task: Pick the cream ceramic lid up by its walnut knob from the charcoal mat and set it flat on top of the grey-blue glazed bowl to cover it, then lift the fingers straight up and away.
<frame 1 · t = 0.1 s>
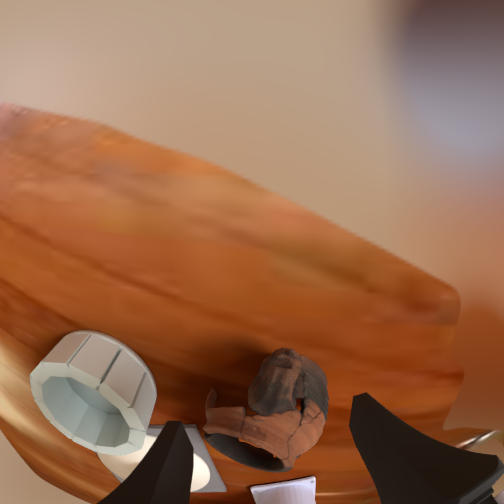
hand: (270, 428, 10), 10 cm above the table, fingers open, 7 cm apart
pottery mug: (267, 382, 22), on the table
lid: (152, 465, 23), resting on mat
mat: (152, 462, 24), on the table
bowl: (103, 378, 20), on the table
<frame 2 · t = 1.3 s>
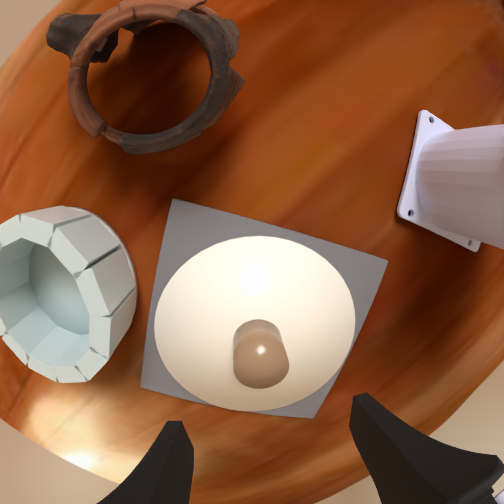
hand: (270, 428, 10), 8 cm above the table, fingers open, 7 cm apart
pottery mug: (153, 72, 14), on the table
lid: (256, 335, 18), resting on mat
mat: (255, 331, 18), on the table
bowl: (74, 279, 17), on the table
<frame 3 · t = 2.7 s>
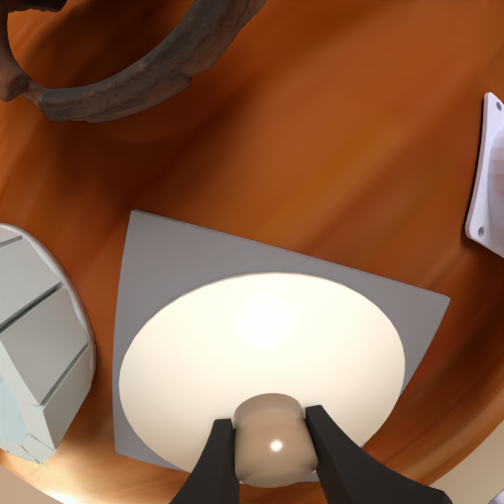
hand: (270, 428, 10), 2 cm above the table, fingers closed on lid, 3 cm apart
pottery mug: (123, 17, 8), on the table
lid: (266, 408, 11), resting on mat, touching gripper
mat: (265, 400, 12), on the table
bowl: (17, 321, 10), on the table
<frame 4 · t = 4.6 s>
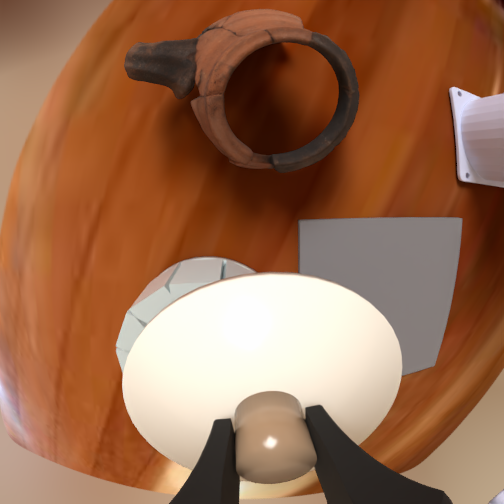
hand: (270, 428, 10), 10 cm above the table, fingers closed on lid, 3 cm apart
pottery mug: (239, 92, 16), on the table
lid: (267, 405, 12), point 8 cm above the table, touching gripper
mat: (385, 309, 20), on the table
bowl: (211, 326, 19), on the table
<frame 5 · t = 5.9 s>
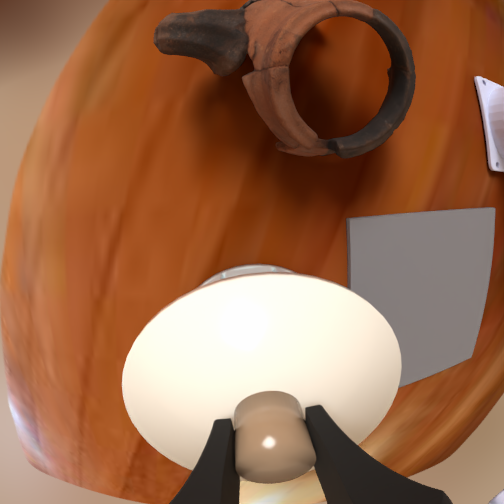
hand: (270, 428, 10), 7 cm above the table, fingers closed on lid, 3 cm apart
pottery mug: (276, 75, 14), on the table
lid: (266, 405, 12), point 6 cm above the table, touching gripper
mat: (429, 305, 18), on the table
bowl: (256, 340, 17), on the table
when the fingers open (7 cm above the table, at t = 6.8 s): lid stays where it is, resting on bowl.
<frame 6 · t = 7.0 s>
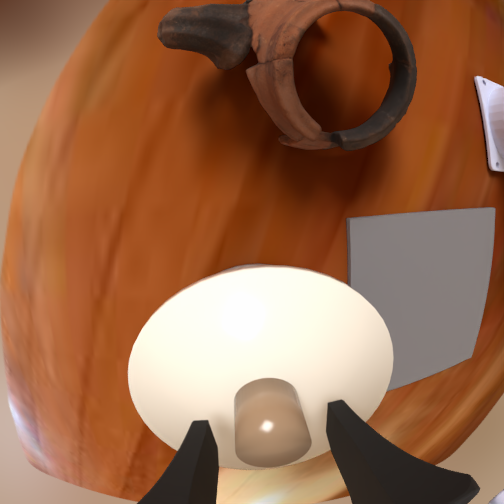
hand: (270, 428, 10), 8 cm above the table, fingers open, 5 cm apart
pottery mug: (279, 70, 14), on the table
lid: (264, 393, 13), point 5 cm above the table, touching bowl
mat: (429, 305, 18), on the table
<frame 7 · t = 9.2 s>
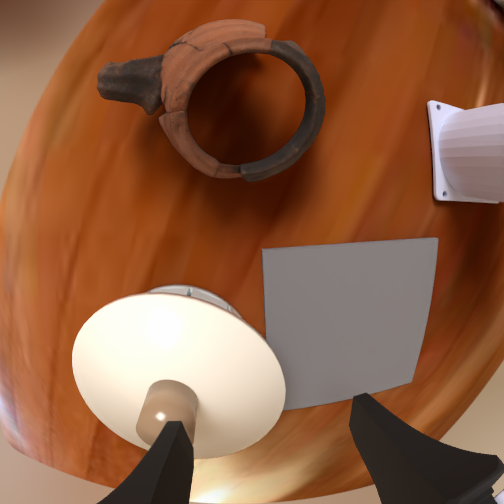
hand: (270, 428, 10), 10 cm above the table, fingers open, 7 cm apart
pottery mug: (212, 102, 16), on the table
lid: (174, 392, 15), point 5 cm above the table, touching bowl
mat: (355, 331, 20), on the table
bowl: (184, 347, 20), on the table
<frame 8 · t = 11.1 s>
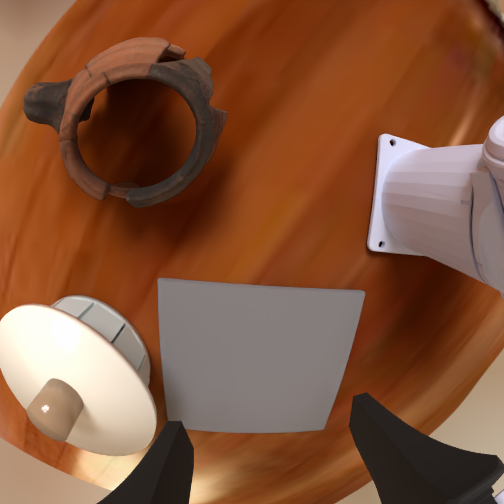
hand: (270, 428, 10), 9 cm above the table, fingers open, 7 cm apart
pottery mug: (136, 118, 16), on the table
lid: (68, 390, 14), point 5 cm above the table, touching bowl
mat: (255, 371, 20), on the table
bowl: (93, 352, 19), on the table
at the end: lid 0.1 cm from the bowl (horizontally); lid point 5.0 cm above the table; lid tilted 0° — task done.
